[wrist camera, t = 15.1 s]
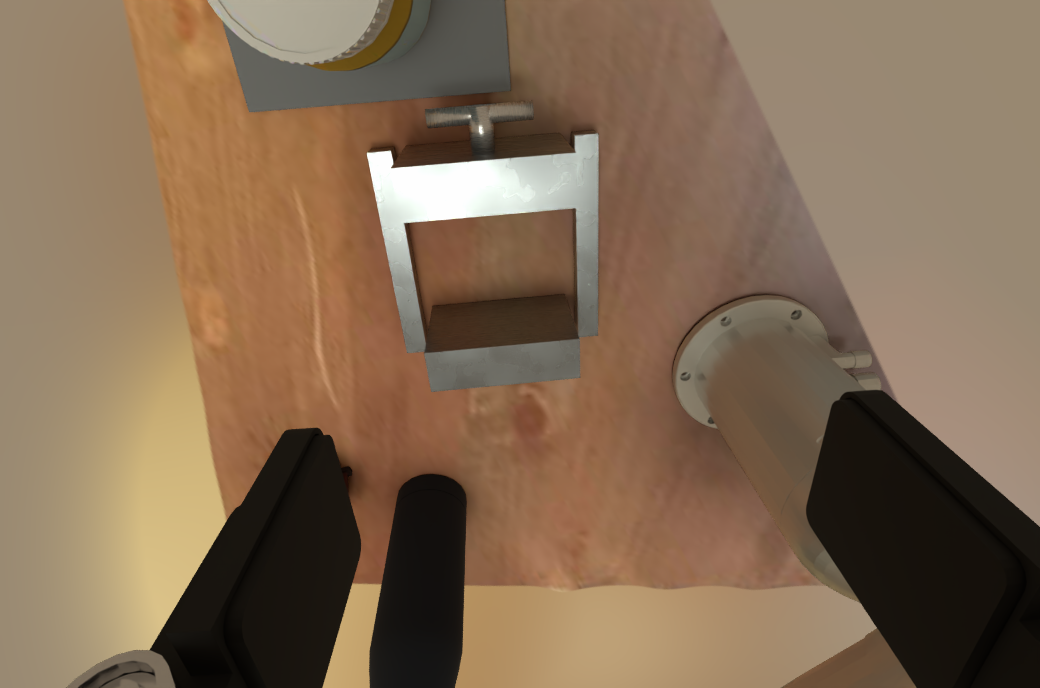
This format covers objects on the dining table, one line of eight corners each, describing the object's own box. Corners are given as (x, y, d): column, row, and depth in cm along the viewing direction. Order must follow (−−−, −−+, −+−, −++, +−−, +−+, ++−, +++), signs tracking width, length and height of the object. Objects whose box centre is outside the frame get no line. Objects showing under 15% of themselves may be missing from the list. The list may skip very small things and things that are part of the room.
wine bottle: (469, 475, 49) (457, 969, 23) (464, 524, 52) (448, 1009, 26) (397, 472, 48) (301, 979, 22) (396, 522, 51) (311, 1019, 25)
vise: (593, 88, 34) (619, 99, 28) (594, 326, 42) (613, 374, 36) (362, 107, 34) (336, 122, 27) (409, 343, 42) (397, 395, 36)
